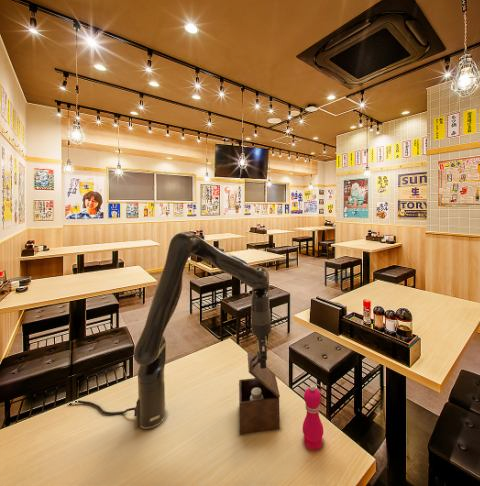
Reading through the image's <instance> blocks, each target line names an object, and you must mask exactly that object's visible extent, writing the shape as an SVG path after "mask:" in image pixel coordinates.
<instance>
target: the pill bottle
mask: <svg viewBox="0 0 480 486" xmlns="http://www.w3.org/2000/svg"><path fill="white" fill-rule="evenodd" d="M259 399H263V395H262V391H261V389H260V388H253V389H252V391H251V396H250V401H251V400H259Z"/></svg>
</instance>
